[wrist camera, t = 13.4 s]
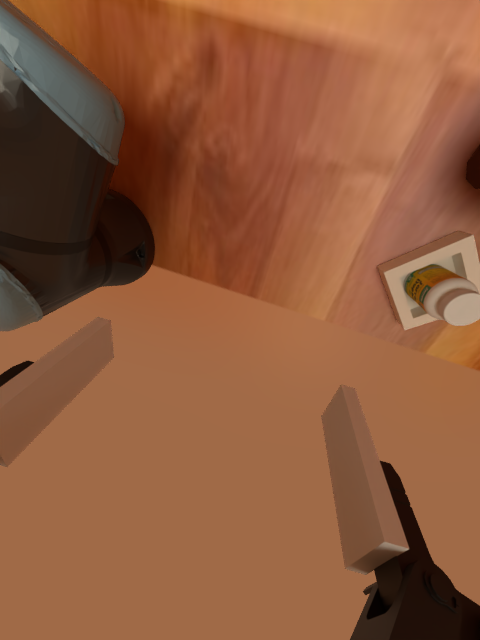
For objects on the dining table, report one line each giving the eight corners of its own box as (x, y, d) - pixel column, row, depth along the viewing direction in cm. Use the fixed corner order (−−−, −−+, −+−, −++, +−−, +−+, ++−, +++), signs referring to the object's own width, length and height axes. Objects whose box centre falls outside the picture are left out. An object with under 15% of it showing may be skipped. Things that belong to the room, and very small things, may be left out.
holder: (376, 266, 35) (383, 272, 33) (458, 230, 31) (473, 234, 29) (396, 320, 39) (404, 330, 36) (472, 294, 35) (487, 303, 32)
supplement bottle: (445, 293, 35) (493, 327, 27) (403, 301, 36) (435, 335, 28) (446, 257, 33) (499, 282, 24) (401, 268, 34) (437, 294, 26)
